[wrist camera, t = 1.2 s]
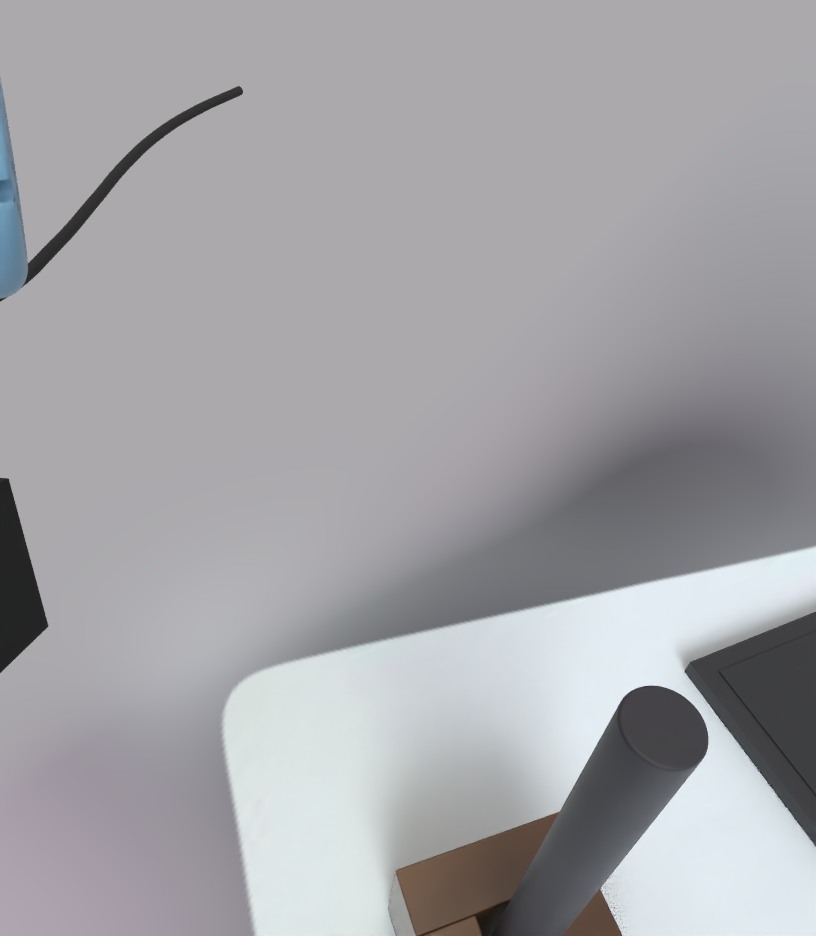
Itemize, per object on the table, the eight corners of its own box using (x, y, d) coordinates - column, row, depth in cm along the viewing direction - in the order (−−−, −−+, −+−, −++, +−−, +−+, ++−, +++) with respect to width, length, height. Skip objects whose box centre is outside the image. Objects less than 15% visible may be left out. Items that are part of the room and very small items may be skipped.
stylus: (480, 938, 30) (618, 674, 16) (525, 950, 30) (707, 695, 16) (473, 991, 29) (617, 756, 15) (520, 1004, 28) (713, 780, 14)
